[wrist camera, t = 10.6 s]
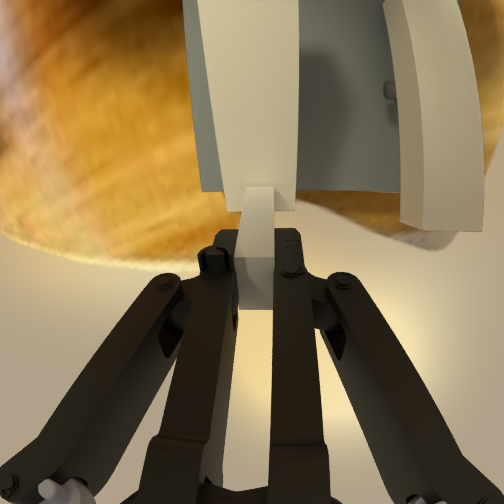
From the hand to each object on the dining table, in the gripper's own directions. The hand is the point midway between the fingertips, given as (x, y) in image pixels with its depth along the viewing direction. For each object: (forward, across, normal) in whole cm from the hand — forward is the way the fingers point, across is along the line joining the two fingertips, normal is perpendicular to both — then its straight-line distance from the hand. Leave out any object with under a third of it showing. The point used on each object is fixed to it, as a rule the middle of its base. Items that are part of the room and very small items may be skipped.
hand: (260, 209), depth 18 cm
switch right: (+2, +10, +6) cm, 12 cm away
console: (+9, +5, +7) cm, 12 cm away
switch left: (+2, 0, +7) cm, 7 cm away
